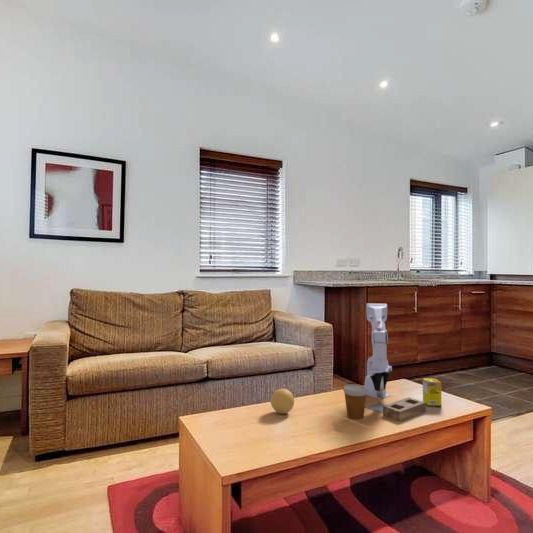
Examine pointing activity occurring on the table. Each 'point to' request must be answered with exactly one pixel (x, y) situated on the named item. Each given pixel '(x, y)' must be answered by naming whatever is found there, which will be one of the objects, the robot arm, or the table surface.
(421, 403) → the socket block
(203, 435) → the table surface
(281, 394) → the stress ball
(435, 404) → the supplement box
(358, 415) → the disposable coffee cup
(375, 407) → the mat
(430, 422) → the table surface
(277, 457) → the table surface
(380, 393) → the peg
